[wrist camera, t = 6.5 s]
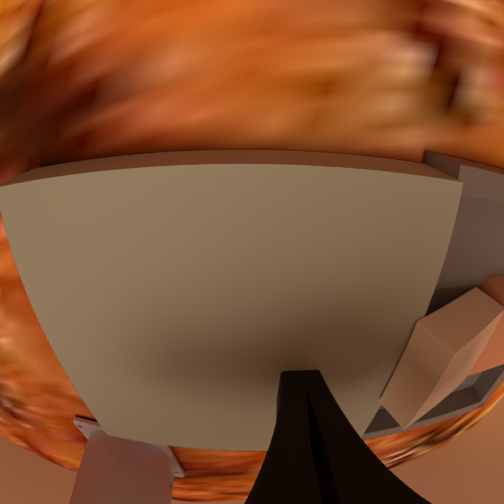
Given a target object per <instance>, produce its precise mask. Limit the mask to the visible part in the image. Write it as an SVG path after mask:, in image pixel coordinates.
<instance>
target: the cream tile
mask: <svg viewBox="0 0 504 504" xmlns="http://www.w3.org/2000/svg"><path fill="white" fill-rule="evenodd" d="M503 312H504V307H503V306H502V305H501V304H499V303H498V302H496V301H495V300H494V299H492V298H491V297H490V296H488V295H487V294H485V293H484V292H483V291H481V290H480V289H478V288H477V287H475V288H473V289H472V290H470V291H468V292H467V293H465V294H464V295H462V296H460V297H459V298H457V299H456V300H454V301H452V302H451V303H449V304H447V305H446V306H444V307H442V308H440V309H439V310H437V311H435V312H433V313H432V314H430V315H428V316H426V317H424V318H423V319H421V320H419V321H417V324H416V326H415V328H414V331H413V333H412V335H411V338H410V340H409V342H408V345H407V347H406V349H405V351H404V353H403V355H402V358H401V360H400V362H399V364H398V366H397V368H396V370H395V372H394V374H393V376H392V378H391V380H390V382H389V384H388V386H387V388H386V389H385V391H384V393H383V395H382V397H381V399H380V400H379V402H380V403H381V404H382V405H383V406H384V407H385V409H386V410H387V411H388V412H389V413H390V414H391V416H392V417H393V418H394V419H395V420H396V421H397V422H398V424H399V425H400V426H401V427H402V428H403V429H406V428H407V427H408V426H410V425H411V424H412V423H414V422H415V421H417V420H418V419H419V418H420V417H422V416H423V415H424V414H426V413H427V412H428V411H429V410H431V409H432V408H433V407H434V406H436V405H437V404H438V403H439V402H441V401H442V400H443V399H444V398H445V397H446V396H448V395H449V394H450V393H451V392H452V391H453V390H454V389H456V388H457V387H458V386H459V385H460V384H461V383H462V382H463V381H464V380H465V378H466V377H467V375H468V374H469V372H470V371H471V369H472V367H473V366H474V364H475V363H476V361H477V359H478V358H479V356H480V355H481V353H482V351H483V350H484V348H485V346H486V344H487V343H488V341H489V339H490V337H491V336H492V334H493V332H494V330H495V328H496V326H497V324H498V322H499V320H500V319H501V317H502V315H503Z"/></svg>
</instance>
